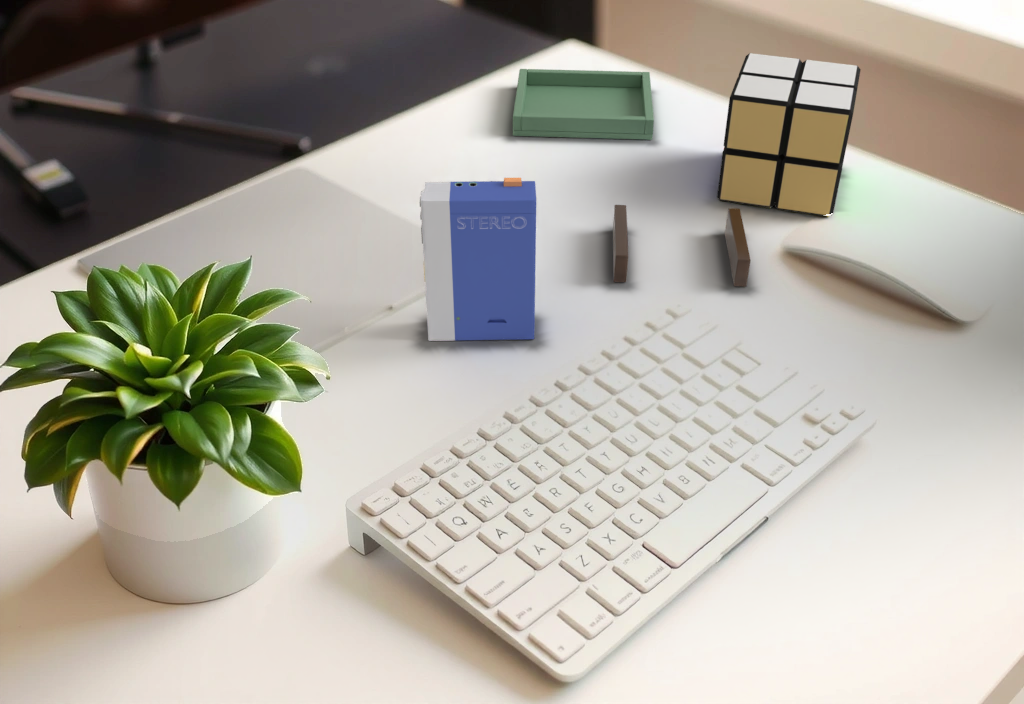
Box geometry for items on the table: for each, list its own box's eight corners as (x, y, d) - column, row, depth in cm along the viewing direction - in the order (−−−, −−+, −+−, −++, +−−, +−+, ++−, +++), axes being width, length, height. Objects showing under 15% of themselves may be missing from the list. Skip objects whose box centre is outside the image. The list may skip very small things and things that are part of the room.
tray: (648, 90, 114) (649, 71, 113) (652, 140, 105) (653, 120, 104) (519, 87, 115) (519, 68, 114) (512, 136, 106) (512, 116, 104)
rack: (736, 234, 91) (740, 208, 89) (746, 287, 85) (750, 260, 83) (612, 230, 92) (614, 204, 90) (613, 282, 85) (615, 255, 84)
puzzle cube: (732, 152, 103) (746, 51, 97) (840, 167, 100) (861, 64, 94) (715, 202, 95) (729, 95, 89) (831, 219, 93) (854, 111, 87)
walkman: (533, 318, 81) (535, 175, 74) (534, 340, 79) (536, 195, 72) (428, 319, 81) (420, 176, 74) (427, 341, 79) (418, 196, 72)
